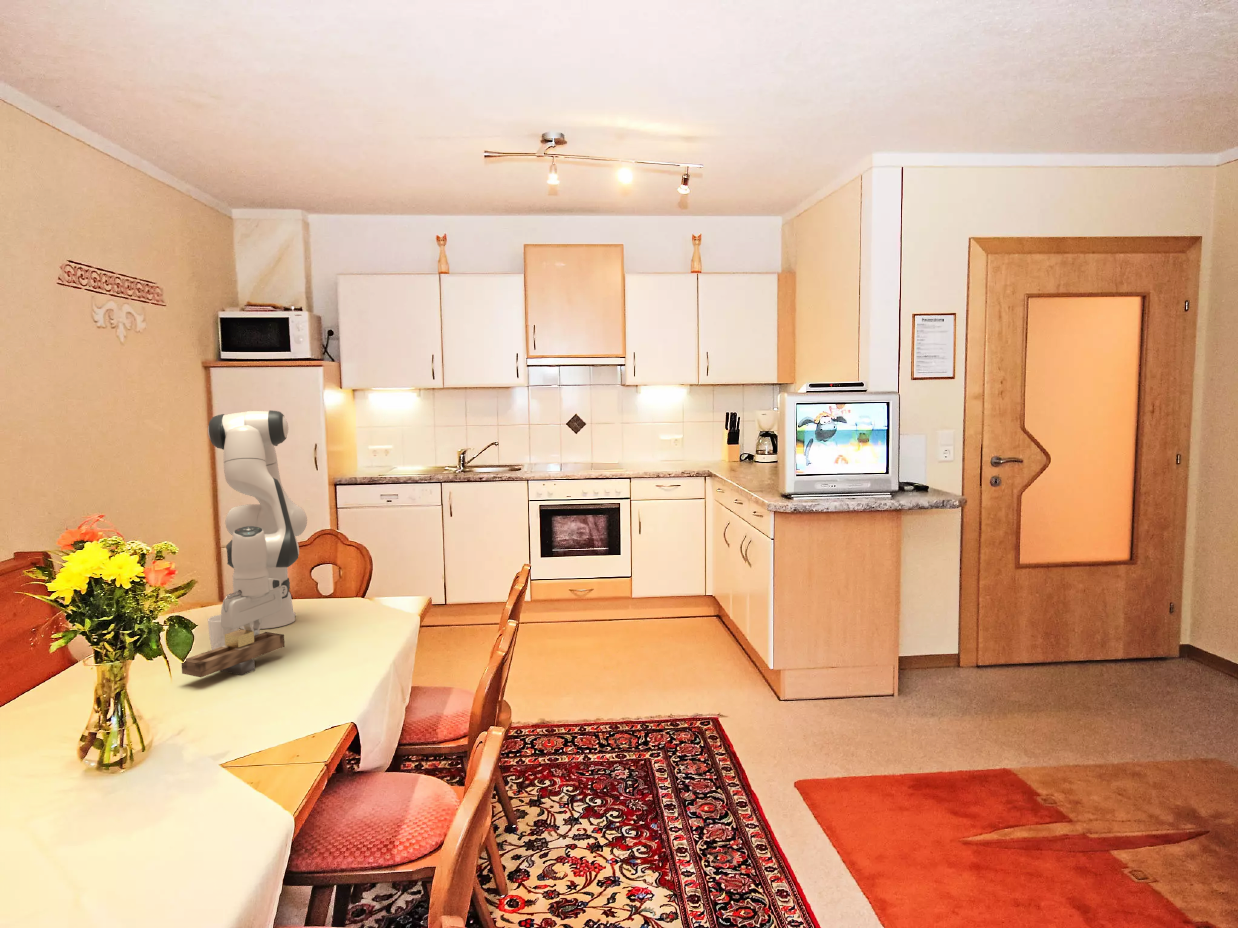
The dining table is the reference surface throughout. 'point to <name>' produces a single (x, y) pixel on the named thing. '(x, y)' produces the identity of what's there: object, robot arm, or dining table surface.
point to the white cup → (217, 632)
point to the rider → (239, 638)
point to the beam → (233, 657)
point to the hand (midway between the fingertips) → (253, 636)
